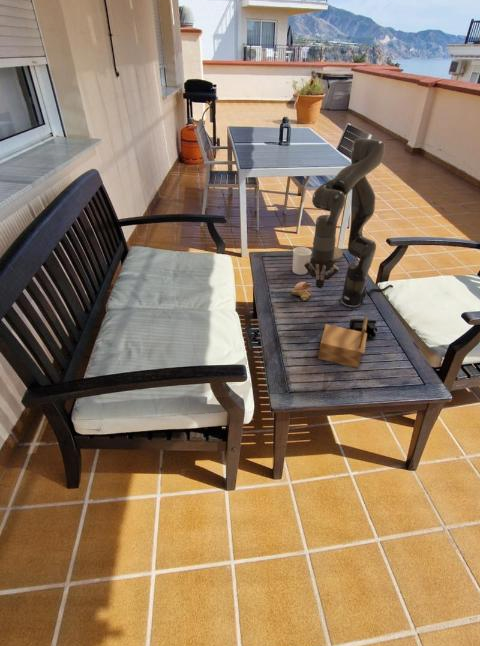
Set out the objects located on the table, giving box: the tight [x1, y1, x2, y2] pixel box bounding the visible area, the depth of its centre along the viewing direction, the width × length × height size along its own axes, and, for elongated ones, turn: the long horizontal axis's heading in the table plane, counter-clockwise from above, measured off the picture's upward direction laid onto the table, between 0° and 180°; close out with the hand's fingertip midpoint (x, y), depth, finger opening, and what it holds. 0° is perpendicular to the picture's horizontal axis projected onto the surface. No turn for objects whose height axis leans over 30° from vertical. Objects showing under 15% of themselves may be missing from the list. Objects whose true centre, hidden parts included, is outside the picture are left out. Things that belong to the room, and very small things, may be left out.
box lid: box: [320, 316, 369, 355], centre depth 149 cm, size 16×13×10 cm
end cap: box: [349, 318, 378, 340], centre depth 165 cm, size 10×7×7 cm
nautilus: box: [310, 246, 344, 262], centre depth 219 cm, size 8×22×15 cm
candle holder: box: [291, 246, 313, 276], centre depth 206 cm, size 10×10×12 cm
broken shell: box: [290, 281, 313, 301], centre depth 187 cm, size 9×10×10 cm
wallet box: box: [317, 343, 363, 369], centre depth 154 cm, size 16×13×7 cm
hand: (319, 287), depth 146 cm, fingers closed
